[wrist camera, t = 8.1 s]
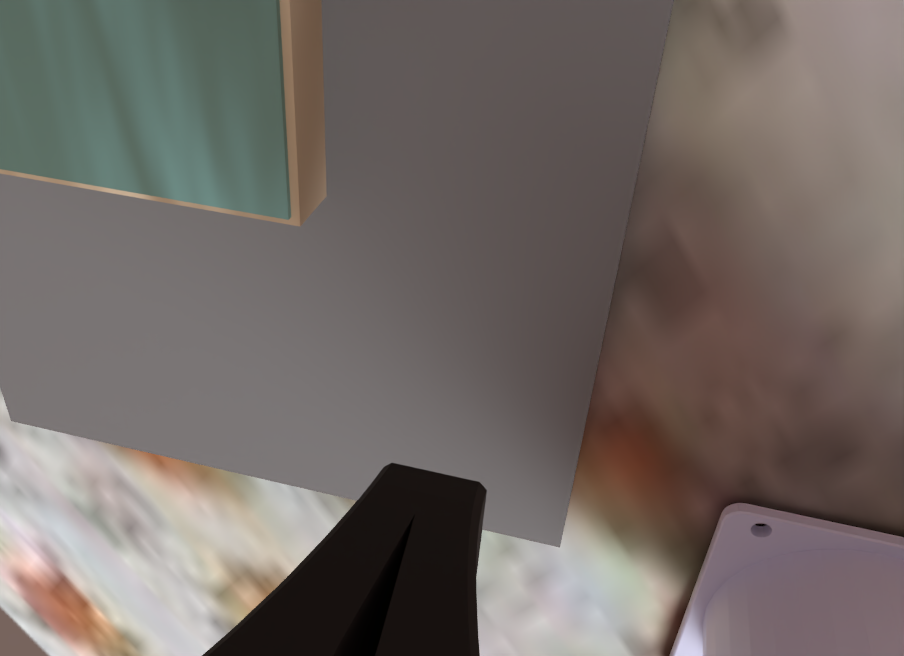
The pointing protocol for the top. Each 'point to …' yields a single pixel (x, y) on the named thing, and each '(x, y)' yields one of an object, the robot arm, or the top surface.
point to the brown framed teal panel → (168, 101)
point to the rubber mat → (365, 268)
